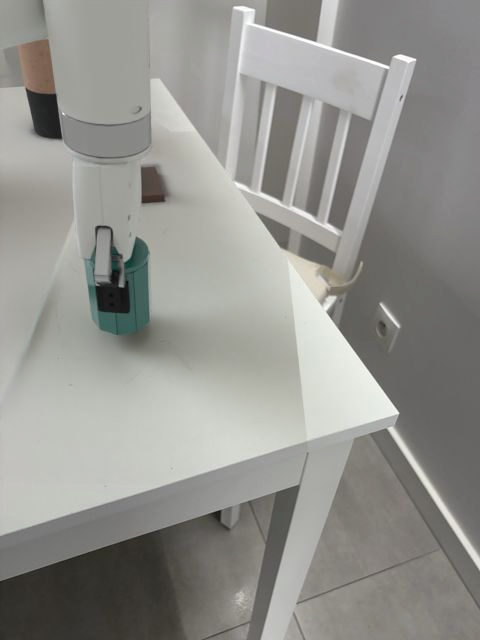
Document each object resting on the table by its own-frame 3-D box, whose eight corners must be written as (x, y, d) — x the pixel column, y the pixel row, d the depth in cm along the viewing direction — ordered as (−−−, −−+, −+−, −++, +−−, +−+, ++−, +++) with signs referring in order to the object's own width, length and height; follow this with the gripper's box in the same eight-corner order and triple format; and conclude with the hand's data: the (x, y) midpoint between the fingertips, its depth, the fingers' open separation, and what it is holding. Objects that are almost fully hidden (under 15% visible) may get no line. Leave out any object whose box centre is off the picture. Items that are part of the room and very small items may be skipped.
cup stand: (105, 205, 83) (99, 156, 77) (99, 175, 89) (94, 128, 83) (164, 201, 85) (163, 154, 80) (155, 173, 91) (153, 127, 86)
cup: (88, 333, 60) (78, 267, 54) (98, 294, 65) (91, 229, 58) (147, 337, 61) (144, 272, 54) (153, 298, 65) (152, 234, 59)
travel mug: (27, 131, 97) (0, 1, 83) (68, 123, 101) (49, -3, 86) (46, 149, 93) (22, 16, 79) (88, 140, 97) (72, 11, 83)
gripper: (82, 84, 53) (98, 239, 65) (35, 173, 41) (67, 342, 53) (161, 92, 53) (162, 244, 66) (138, 182, 41) (145, 347, 54)
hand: (120, 286), depth 60 cm, fingers closed on cup, 6 cm apart
